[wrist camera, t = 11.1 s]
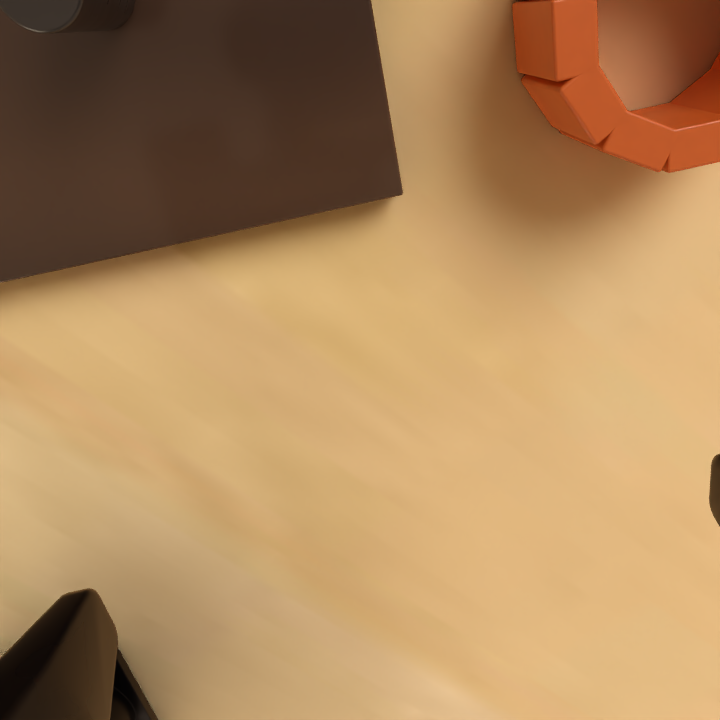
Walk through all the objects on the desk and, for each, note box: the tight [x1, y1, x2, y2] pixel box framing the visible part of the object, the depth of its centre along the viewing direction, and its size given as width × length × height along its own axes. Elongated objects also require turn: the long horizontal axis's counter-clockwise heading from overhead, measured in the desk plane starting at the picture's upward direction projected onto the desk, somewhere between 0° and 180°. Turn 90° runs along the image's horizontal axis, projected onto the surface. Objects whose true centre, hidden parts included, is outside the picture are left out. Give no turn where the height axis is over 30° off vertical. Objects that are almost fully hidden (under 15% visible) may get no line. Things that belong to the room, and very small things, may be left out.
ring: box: [512, 0, 720, 173], centre depth 15 cm, size 7×7×3 cm
